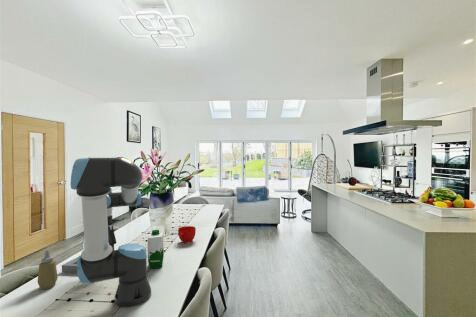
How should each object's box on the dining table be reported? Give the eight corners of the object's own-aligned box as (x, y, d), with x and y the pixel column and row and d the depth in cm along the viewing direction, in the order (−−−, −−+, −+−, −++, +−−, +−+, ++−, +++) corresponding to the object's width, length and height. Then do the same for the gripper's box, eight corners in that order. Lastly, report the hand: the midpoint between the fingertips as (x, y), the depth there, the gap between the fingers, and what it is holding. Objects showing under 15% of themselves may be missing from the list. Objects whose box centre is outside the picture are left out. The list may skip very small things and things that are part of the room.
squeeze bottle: (55, 281, 130) (54, 246, 130) (60, 285, 125) (59, 249, 125) (35, 287, 124) (34, 250, 124) (39, 292, 119) (39, 254, 119)
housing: (88, 273, 138) (88, 266, 138) (61, 272, 140) (61, 265, 140) (114, 256, 162) (114, 250, 162) (92, 255, 164) (92, 249, 164)
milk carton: (163, 261, 152) (163, 228, 152) (163, 268, 143) (163, 233, 143) (148, 263, 150) (148, 230, 150) (147, 270, 141) (146, 234, 141)
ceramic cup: (172, 245, 180) (172, 232, 180) (183, 238, 197) (182, 225, 197) (189, 247, 177) (188, 233, 177) (198, 239, 194) (198, 226, 194)
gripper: (123, 217, 134) (123, 256, 134) (101, 211, 149) (101, 247, 149) (108, 219, 128) (109, 261, 128) (87, 214, 143) (88, 251, 143)
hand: (105, 254), depth 139 cm, fingers open, 13 cm apart
